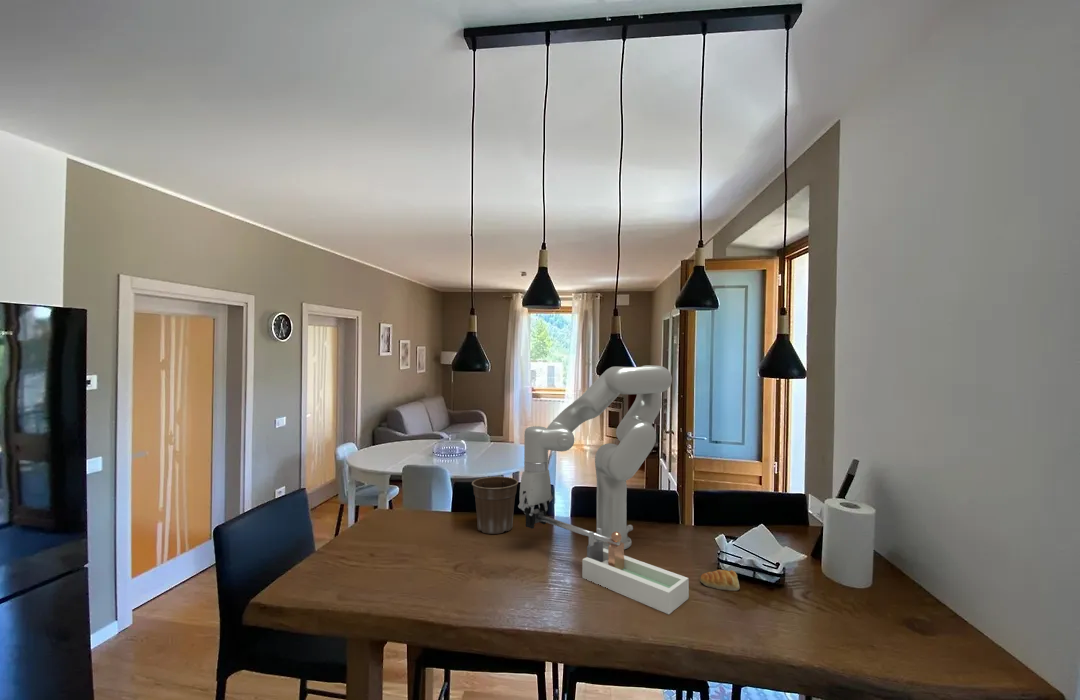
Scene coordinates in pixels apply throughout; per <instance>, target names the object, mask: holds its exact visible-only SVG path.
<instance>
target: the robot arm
mask: <svg viewBox="0 0 1080 700" xmlns="http://www.w3.org/2000/svg"><path fill="white" fill-rule="evenodd" d="M672 381H673V377H672V373H671V371H670V370H669V369H668V368H666V367H665V366H662V365H652V364H651V365H647V364H646V365H642V366H611V367H609V368H607V369H606V370H605V371H603V373H602V374H601V375H599V376H598V378H596V380H595V381H594V382H593V383H592V384H591V385H590V386H589V387H588V388H587V389H586V390H585V392H583V394H582V395H580V396H579V397H578V398H577V399H576V400H574V401H572V403H571V404H569V405H568V406H567V407H566V408H564V409H563V410H562V411H561V412H560V413H559V414H558V415H557V416H556V417H555V418H554V419H553V420H552V421H551V422H550V424H548V426H547V427H545V426H539V425H538V426H536V425H535V426H534V425H533V426H527V427H526V428H525V429H524V433H523V435H524V437H523V438H524V440H523V441H524V443H523V444H524V445H523V446H524V447H523V448H524V454H523V455H524V457H523V459H524V460H523V463H524V467H523V468H524V469H523V471H522V472H521V473H522V474H521V477H520V482H519V483H520V484H519V496H518V497H519V504H518V505H517V508H518V509H520V510H521V511H522V512H523V513H524V515H525V527H527V528H529V529H531V530H532V529H535V524H534V515H533V511H534V510H535V506H536V505H538V509H540V510H543V511H544V516H546V517H547V512H548V510H549V509H548V507H549V506H550V503H551V501H552V500H553V498H554V497H553V495H552V483H551V482H552V481H551V475H550V470H549V464H550V461H549V451H554V452H566V451H569V450H571V449H572V448H573V446H574V444H575V434H574V433H573V432H574V431H575V430H576V429H577V428H578V427H579V426H580V425H582V424H583V423H585V422H587V421H589V420H592V419H595V418H597V417H599V416H601V414H602V413H604V411H606V409H608V407H609V406H610V405H611V404H612V403H613V402H614V401H615V400H616V399H617V397H619V396H620V394H621V395H636V397H635V400H634V401H633V403H632V405H631V406H630V408H629V409H628V411H627V413H626V414H625V415H624V416H623V418H622V420H621V421H620V423H619V424H618V426H617V427H616V430H615V434H616V437H617V439H618V442H619V441H620V442H619V444H616V443H604V444H603V445H601V446H600V447H599V448H598V449H597V450H596V453H595V456H594V467H595V475H596V529H597V528H601V529H602V535H603V536H607V537H610V538H611V534H612V533H613V532H615V531H617V532H619V533H620V534H621V536H622V539H621V541H620V542H622V543H624V550H626V549H629V548H630V547H631V546H632V539H631V538H630V537H629V536H628V534H629V532H631V531H633V530H634V526H633V525H632V524H627V494H628V493H627V492H628V491H627V490H628V488H627V481H628V480H630V479H632V478H633V477H634V475H636V473H637V472H638V470H639V469H640V468H641V466H642V464H643V463H644V461H646V459H647V457H648V456H649V455H650V453H651V451H652V450H653V448H654V447H655V443H656V439H657V433H656V430H655V427H654V426H653V424H654V422H655V420H656V418H657V417H658V416H659V413H660V412H661V411H660V410H661V408H662V403H663V401H662V400H663V399H662V396H663V395H662V393H664V392H666V391H667V390H669V388H670V387H671V385H672V383H673V382H672ZM538 524H542V525H546V524H547V523H546V522H543V521H541V522H539V523H538ZM596 541H597V540H596V539H594V542H596ZM609 545H611V544H608V543H605V542H603V549H604V548H605V549H608V546H609Z"/></svg>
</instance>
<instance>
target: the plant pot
mask: <svg viewBox="0 0 1080 700" xmlns="http://www.w3.org/2000/svg"><path fill="white" fill-rule="evenodd" d="M518 484H519V480H517V479H516V478H513V477H508V476H485V477H479V478H477V479H475V480H472V482H471V486H472V488H473V495H474V498H475V499H474V500H475V510H476V511H475V512H476V521H477V522H476V524H477V525H476V526H477V527H476V528H477V531H479V532H482V533H483V534H488V535H496V534H503V533H504V532H507V531H508V532H509V531H511V530H512V529H513V524H514V523H513V522H514V510H515V499H516V494H517V487H518Z"/></svg>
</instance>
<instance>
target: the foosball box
mask: <svg viewBox="0 0 1080 700" xmlns="http://www.w3.org/2000/svg"><path fill="white" fill-rule="evenodd" d="M589 531H590V532H589V537H588V545H586V557H584V558H582V563H581V564H582V568H581V569H582V574H581V575H582V576H581V577H582V579H585V580H586V579H587V581H589V582H591V581H592V582H591V583H593V582H594V584H596V585H598V584H599V585H598V586H600V585H601V587H603V588H605V587H606V589H607V588H608V590H610V591H613V592H614V593H617V594H620V595H622V596H625V597H627V598H629V599H632V600H633V601H636V602H638V603H640V604H642V605H646V606H648V607H650V608H652V609H654V610H657V611H659V612H662V613H664V614H666V615H671V614H672V613H673V612H674V611H675V610H676V609H678V608H679V607H680V606H681V605H683V604H684V603H685V602H686V601H687V600H689V597H690V594H689V592H690V590H689V587H690V586H689V583H690V582H689V580H690V579H689V577H686V576H684V575H681V574H679V573H675V572H673V571H669V570H668V569H667V570H666V569H664V568H662V567H659V566H656V565H653V564H650V563H647V562H644V561H641V560H638V559H635V558H633V557H631V556H628V555H625V554H624V568H623V569H622V570H620V569H617V568H615V567H612V566H610V565H607V564H604V563H602V562H603V561H605V560H608V549H605V548H604V549H603V542H602V541H599V540H597V541H596V542H594V533H595V532H594V531H591V530H589ZM596 533H597V534H600V535H602V529H601V528H597V527H596Z"/></svg>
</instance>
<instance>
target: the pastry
mask: <svg viewBox="0 0 1080 700" xmlns="http://www.w3.org/2000/svg"><path fill="white" fill-rule="evenodd" d="M699 581H700V583H702V585H703V586H706V587H707V588H712V589H717V590H723V591H734V592H737V591H739V590H740V582H739V578H738V574H737V573H736V571H735V570H732V569H731V570H726V569H717V570H714V571H708V572H704V573H701V575H700V579H699Z"/></svg>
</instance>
